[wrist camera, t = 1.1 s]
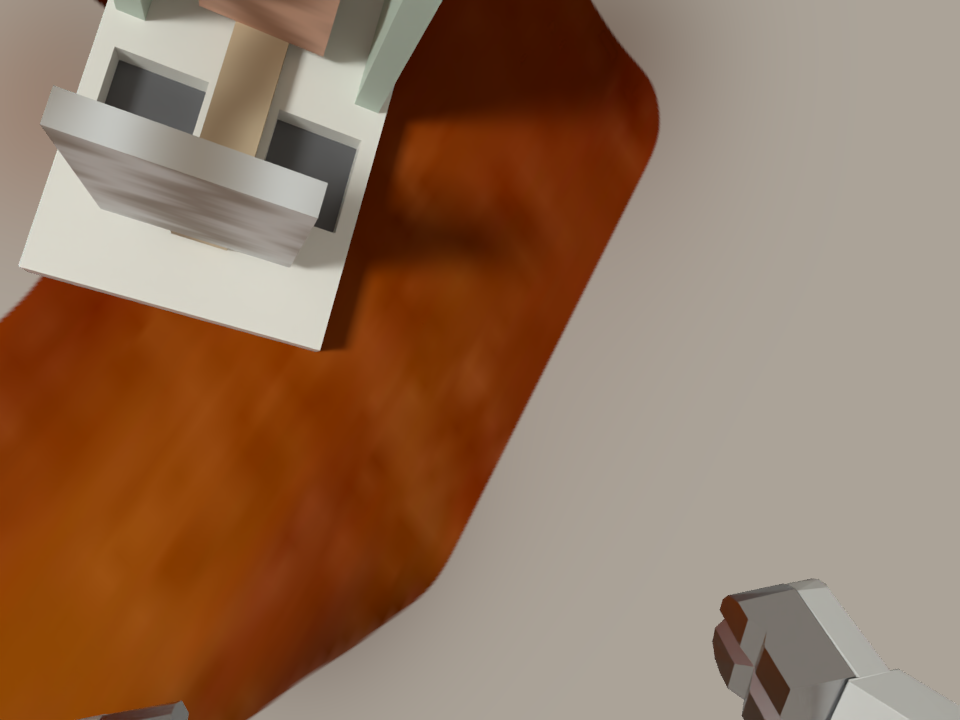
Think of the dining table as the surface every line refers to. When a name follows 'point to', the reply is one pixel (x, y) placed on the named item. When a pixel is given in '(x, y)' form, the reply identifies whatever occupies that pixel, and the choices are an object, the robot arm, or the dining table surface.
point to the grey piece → (206, 144)
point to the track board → (285, 142)
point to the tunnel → (391, 48)
